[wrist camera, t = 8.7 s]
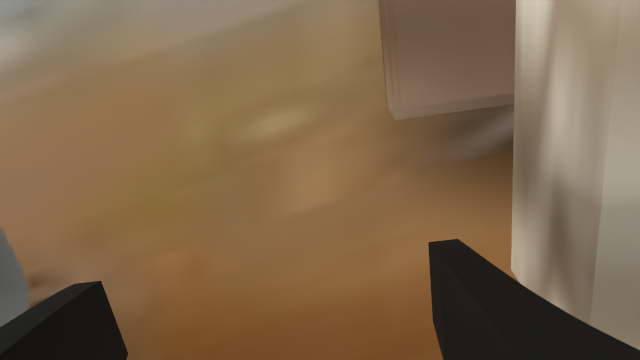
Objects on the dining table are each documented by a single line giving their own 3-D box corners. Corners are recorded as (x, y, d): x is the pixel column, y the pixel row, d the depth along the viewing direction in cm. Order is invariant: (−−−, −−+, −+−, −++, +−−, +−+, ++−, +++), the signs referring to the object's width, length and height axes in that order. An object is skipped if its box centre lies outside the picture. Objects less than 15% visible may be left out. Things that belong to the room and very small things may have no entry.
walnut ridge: (642, 73, 18) (727, 93, 14) (387, 107, 18) (403, 135, 15) (660, -70, 16) (762, -91, 12) (375, -27, 17) (391, -35, 13)
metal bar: (596, 260, 16) (704, 364, 12) (511, 269, 17) (584, 376, 12) (653, -336, 10) (917, -601, 6) (521, -312, 11) (675, -551, 6)
